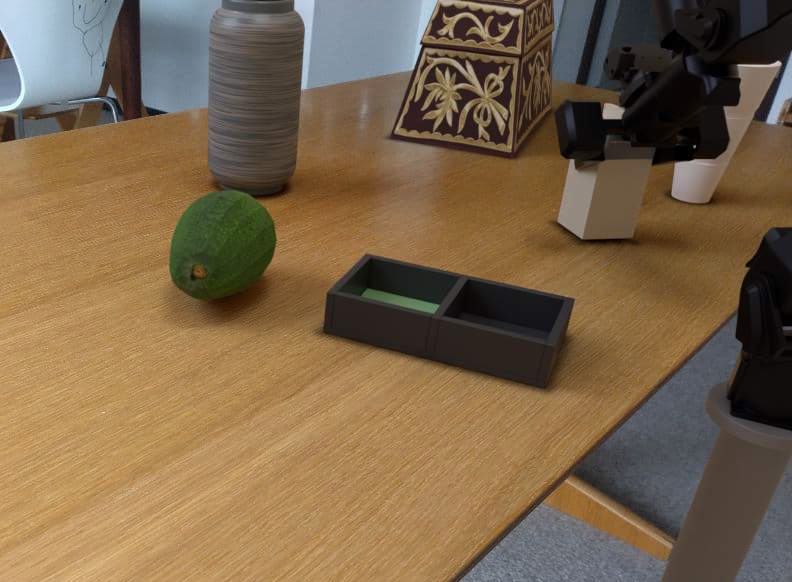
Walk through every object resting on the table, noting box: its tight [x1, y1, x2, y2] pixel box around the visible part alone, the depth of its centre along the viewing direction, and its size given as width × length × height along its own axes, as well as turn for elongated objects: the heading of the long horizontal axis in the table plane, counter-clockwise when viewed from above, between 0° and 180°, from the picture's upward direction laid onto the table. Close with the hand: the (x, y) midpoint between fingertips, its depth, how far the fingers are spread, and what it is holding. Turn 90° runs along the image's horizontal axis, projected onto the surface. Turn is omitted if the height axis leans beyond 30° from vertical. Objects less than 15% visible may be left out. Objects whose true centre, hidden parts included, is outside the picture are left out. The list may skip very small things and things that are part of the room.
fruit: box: [168, 190, 278, 301], centre depth 85 cm, size 15×10×10 cm, turn 158°
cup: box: [670, 60, 782, 204], centre depth 115 cm, size 11×11×18 cm
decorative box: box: [389, 0, 556, 159], centre depth 143 cm, size 35×19×20 cm, turn 155°
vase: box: [207, 0, 306, 196], centre depth 110 cm, size 12×12×23 cm
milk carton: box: [557, 102, 656, 240], centre depth 103 cm, size 6×7×14 cm
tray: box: [322, 253, 576, 389], centre depth 81 cm, size 20×11×4 cm, turn 64°
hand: (603, 166), depth 104 cm, fingers closed on milk carton, 6 cm apart
